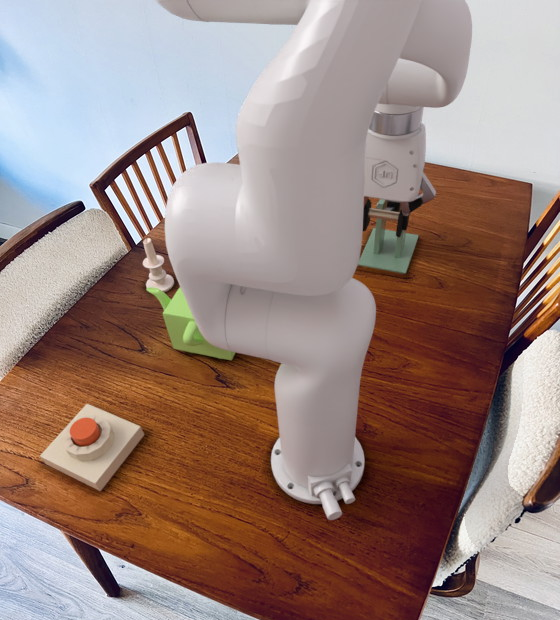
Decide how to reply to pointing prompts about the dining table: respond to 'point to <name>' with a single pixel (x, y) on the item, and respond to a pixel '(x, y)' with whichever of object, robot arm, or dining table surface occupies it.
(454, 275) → the dining table surface
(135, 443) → the beige square piece
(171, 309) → the teapot
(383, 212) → the switch lever
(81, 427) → the red short cylinder
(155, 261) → the candle
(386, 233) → the stand
